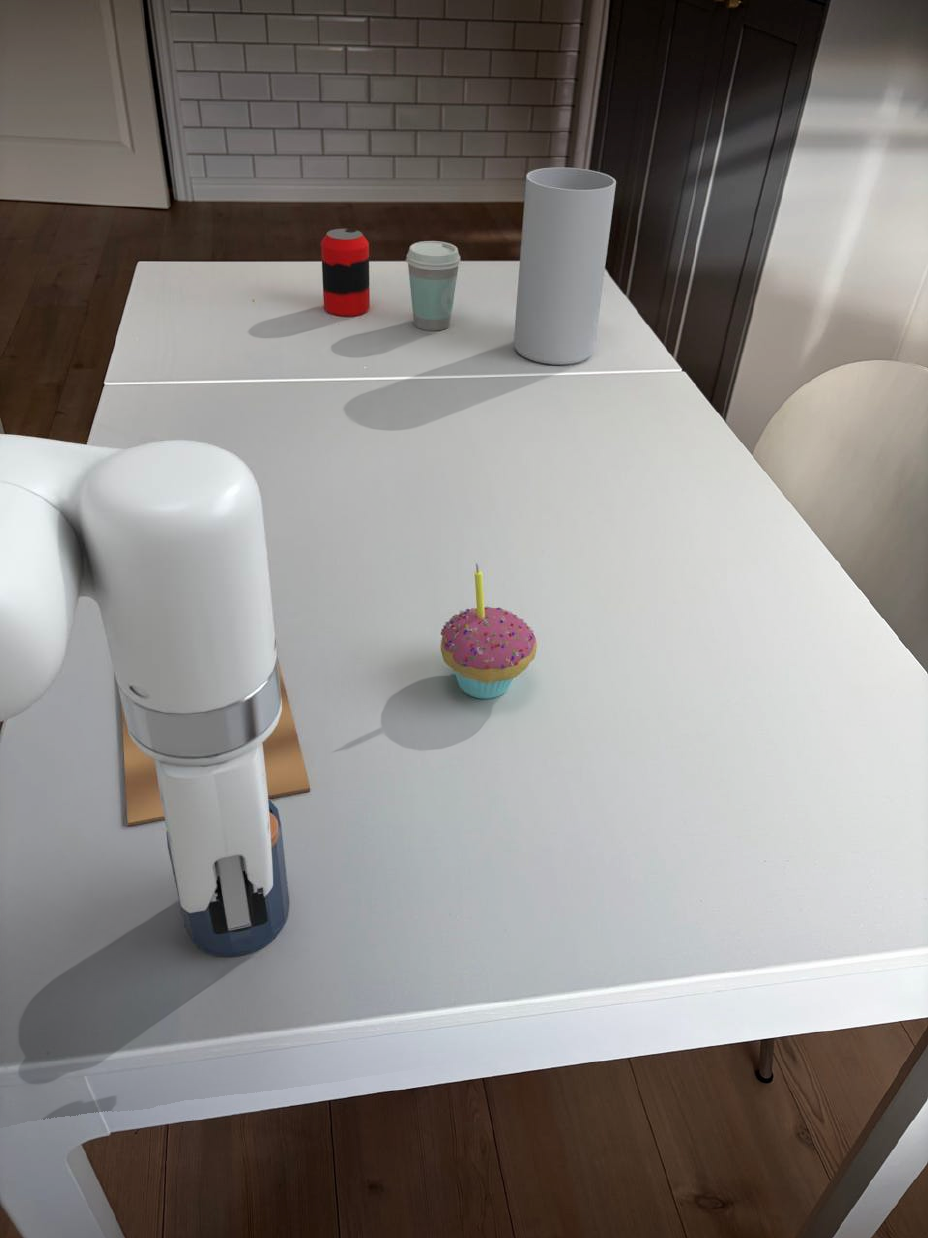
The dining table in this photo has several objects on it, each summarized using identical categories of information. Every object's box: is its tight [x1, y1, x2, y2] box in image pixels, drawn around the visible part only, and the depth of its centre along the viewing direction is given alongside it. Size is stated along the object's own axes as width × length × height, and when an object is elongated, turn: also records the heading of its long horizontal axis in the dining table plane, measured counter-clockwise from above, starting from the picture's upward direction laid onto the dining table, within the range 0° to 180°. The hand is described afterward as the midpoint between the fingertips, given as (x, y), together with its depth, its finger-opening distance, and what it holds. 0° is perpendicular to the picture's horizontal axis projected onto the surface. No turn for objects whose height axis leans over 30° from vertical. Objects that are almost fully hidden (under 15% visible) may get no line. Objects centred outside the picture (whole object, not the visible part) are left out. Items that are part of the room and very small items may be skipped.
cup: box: [165, 798, 290, 958], centre depth 67 cm, size 7×7×9 cm
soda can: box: [320, 228, 371, 317], centre depth 160 cm, size 8×8×12 cm
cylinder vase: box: [513, 167, 617, 366], centre depth 146 cm, size 12×12×25 cm
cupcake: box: [440, 562, 538, 700], centre depth 87 cm, size 9×8×12 cm
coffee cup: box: [405, 240, 462, 332], centre depth 156 cm, size 8×9×12 cm
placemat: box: [120, 656, 311, 827], centre depth 92 cm, size 40×14×1 cm, turn 17°
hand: (239, 918), depth 60 cm, fingers closed
